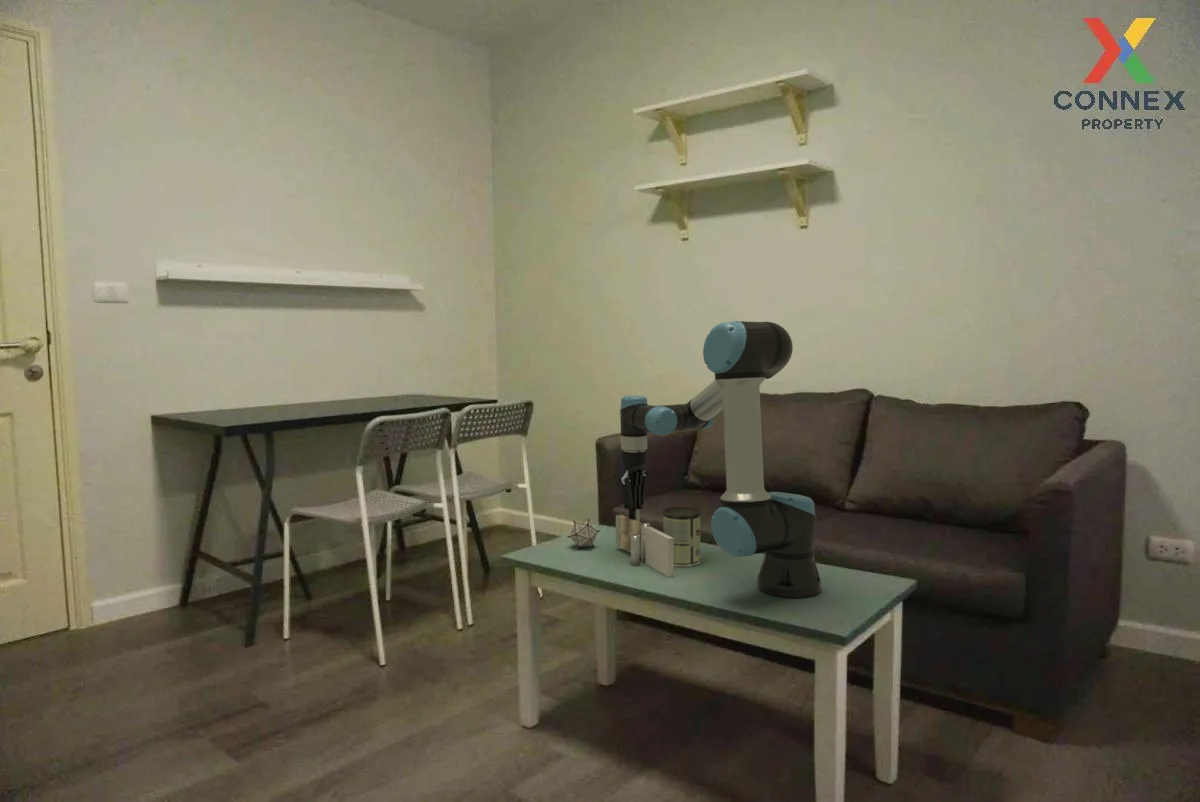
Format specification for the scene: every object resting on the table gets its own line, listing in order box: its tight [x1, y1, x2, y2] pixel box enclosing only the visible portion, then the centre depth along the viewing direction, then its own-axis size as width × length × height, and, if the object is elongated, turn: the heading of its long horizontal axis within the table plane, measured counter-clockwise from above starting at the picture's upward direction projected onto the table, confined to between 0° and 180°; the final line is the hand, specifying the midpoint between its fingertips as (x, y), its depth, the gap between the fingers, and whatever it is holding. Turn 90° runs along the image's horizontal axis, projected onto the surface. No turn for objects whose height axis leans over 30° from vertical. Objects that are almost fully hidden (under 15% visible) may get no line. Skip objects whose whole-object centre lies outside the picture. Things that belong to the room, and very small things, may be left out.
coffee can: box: [662, 506, 702, 568], centre depth 210 cm, size 10×10×14 cm
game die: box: [567, 518, 601, 550], centre depth 225 cm, size 9×8×10 cm
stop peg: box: [630, 534, 641, 567], centre depth 207 cm, size 2×2×8 cm
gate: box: [615, 514, 642, 558], centre depth 217 cm, size 13×2×9 cm, turn 29°
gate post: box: [640, 522, 651, 564], centre depth 210 cm, size 2×2×10 cm
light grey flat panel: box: [644, 526, 674, 578], centre depth 203 cm, size 13×2×10 cm, turn 23°
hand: (634, 531), depth 221 cm, fingers closed
